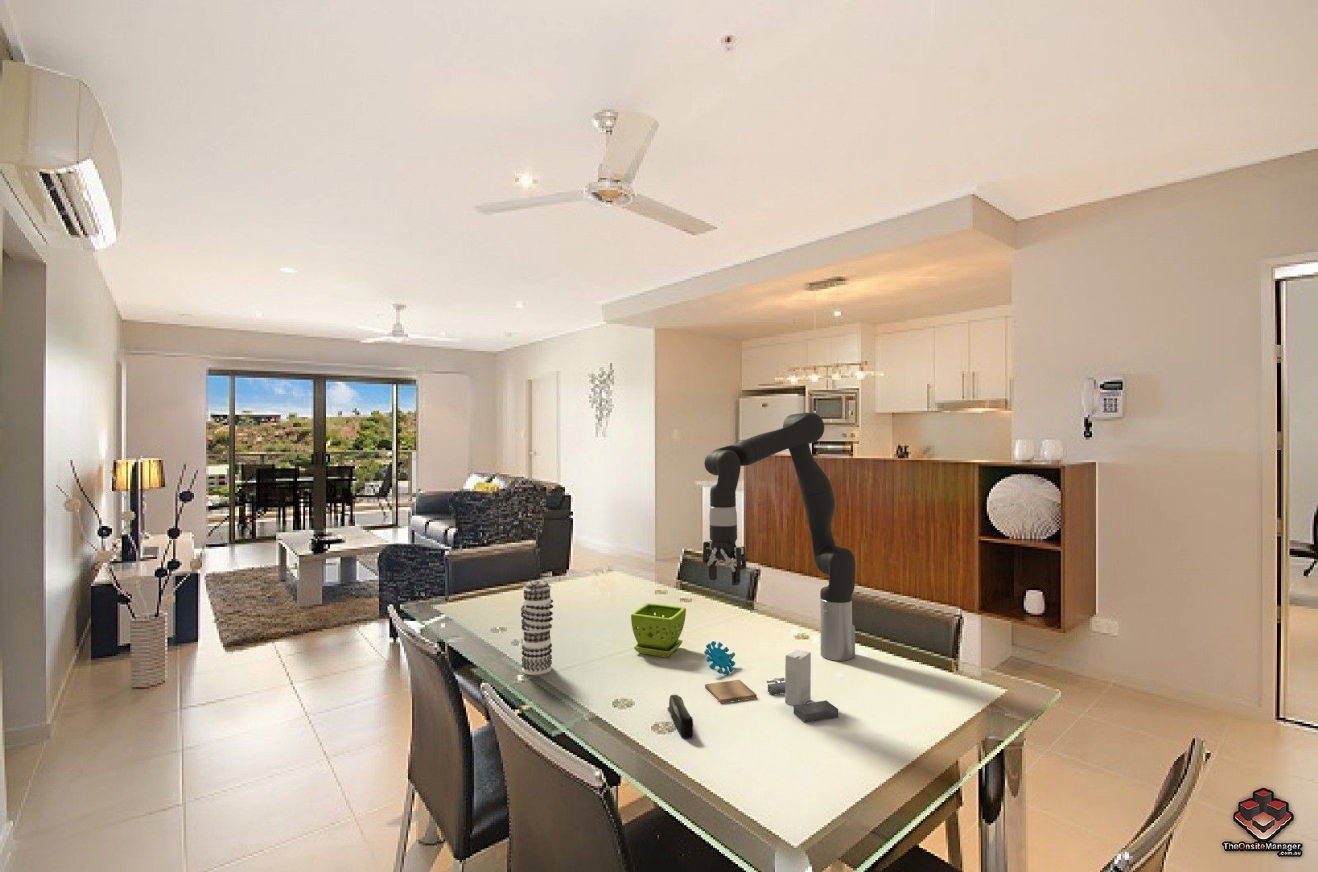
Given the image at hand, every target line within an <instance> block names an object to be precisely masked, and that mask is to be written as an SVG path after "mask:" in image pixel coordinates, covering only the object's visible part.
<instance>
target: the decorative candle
mask: <svg viewBox="0 0 1318 872" xmlns="http://www.w3.org/2000/svg"><path fill="white" fill-rule="evenodd" d="M551 588H552V586H551V585H549V583H548V582H547V580H542V579H541V580H540V579H535V580H531V581H530V580H529V581H528V582H526V583H525V585H524V586H523V587H522V590H523V598H522V606H521V607H520V617H521V618H522V619H521V627H520V628H521V631H522V632H523V638H522V645H521V649H522V650H521V655H522V657H521V672H522V673H523V674H525V675H528V676H529V675H530V676H537V675H543V674H547V673H549V672H550V671H552V665H553V663H552V662H553V661H552V659H553V657H552V652H553V650H552V647H553V644H552V637H551V629H552V628H553V625H552V624H553V623H550V622H551V621H553V620H554V619H553V617H552V616H553V614H554V613H553V611H551V609H553V608H554V605H553V604H552V603H554V600H553V599H551V598H552V597H551Z"/></svg>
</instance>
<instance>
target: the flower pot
mask: <svg viewBox="0 0 1318 872" xmlns="http://www.w3.org/2000/svg"><path fill="white" fill-rule="evenodd" d="M686 612H687V609H686V607H683V606H678V605H677V606H676V605H669V604H661V603H652V602H651V603H646V604H644V605H642V606H640V607H638V608H637V609H636V610H634V611H633V612H632V613H631V614H630V621H631V628H632V633H633V635H634V638H635V641H636V644H635V645H634V647H633V648H634V650H635V651H636V652H637V653H639V654H643V655H648V656H649V655H650V656H656V657H663V658H665V659H666V658H669V657H670V656H671V655H672V654H674V652H676V650H678V649H679V647H680V646H681V645H682V644H683V640H682V639H679V638H681V634H682V632H683V629H684V626H685V621H686V614H687V613H686Z"/></svg>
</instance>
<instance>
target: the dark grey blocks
mask: <svg viewBox="0 0 1318 872" xmlns="http://www.w3.org/2000/svg"><path fill="white" fill-rule="evenodd" d="M766 684H767V693H768V692H769V693H770V694H769V693H768V694H769V695H770V696H775V694H777V695H781V694H780V693H784V694H785V677H779V678H777V677H776V678H772V679H766ZM793 714H794V716H796V717H797V718H798V719H799V720H801V722H803V723H804V724H807V723H814V722H819V721H821V722H822V721H826V720H831V719H832V720H833V719H838V718H839V708H838V707H836V706H835V705H834V704H832V703H831V702H830V701H828V700H820V701H813V702H806V703H805V704H799V705H794V706H793Z"/></svg>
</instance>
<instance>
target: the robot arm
mask: <svg viewBox="0 0 1318 872" xmlns="http://www.w3.org/2000/svg"><path fill="white" fill-rule="evenodd" d="M824 433H825V422H824V420H823V418H822V417H821V416H820V414H817V413H814V412H801V413H799V412H798V413H793V414H789V415H787V416H786V417H785V419H784V421H783V424H782V428H779V429H775V430H771V431H767V432H764V433H761V434H760V433H759V434H757V435H754V436H751V437H749V438H746V439H744V440H742V441H739V442H738V443H734V444H731V445H726V446H724V447H719V448H716V449H713V450H712V451H709V452H708V454H707V455H706V456H705V459H704V468H705V470H706V472H707V473H709V474H710V475H712V476H718V477H717V482H716V484H714V485H712V486H711V488H710V490H709V503H710V504H709V505H710V507H709V508H710V509H709V516H708V517H709V540H708V541H704V542H703V543H702V545H703V546H702V562H703V564H706V565H707V566H708V577H709V580H710V581H715V580H717V578H718V572H717V571H718V570H717V569H718V567H717V564H718V563H719V561H723V562H726V564H727V565H729V567H730V569H731V586H739V585H740V583H741V571H742V570H746V569H747V555H746V547H745V546H737V545H736V542H737V540H738V513H737V507H736V506H737V504H736V503H737V498H736V496H737V494H736V493H737V492H736V491H737V487H738V484H739V478H740V474H741V467H746V466H750V465H753V464H756V463H757V462H761V461H762V460H765V459H767V458H769V457H771V456H773V455H776V454H778V453H781V452H782V451H785V450H788V452H789V454H790V457H791V460H792V462H793V466H794V470H795V473H796V478H797V482H798V485H799V491H800V494H801V498H802V499H801V500H802V502H803V503H802V504H803V507H804V510H805V513H806V519H807V521H808V522H807V523H808V526H809V528H808V529H809V532H810V536H811V543H812V545H811V546H812V552H813V557H814V562H815V566H816V567H817V569H818V570H819V572H821V573H822V574H824V575H827V576H829V578H828V585H827V586H824V587H822V588H821V589H820V591H819V592H820V593H819V594H820V596H819V597H820V598H819V600H820V601H819V602H820V656H821V657H822V658H825V659H827V660H832V661H841V662H842V661H843V662H844V661H849V660H851V659H852V658H856V627H855V625H854V624H853V594H854V591H855V587H856V585H855V584H856V560H855V556H854V554H853V552H852V551H851V550H850V549H848V548H845V547H843V546H838V545H836V543H835V540H834V536H833V532H832V531H833V530H832V523H833V522H832V521H833V518H834V513H835V506H836V501H835V495H834V493H833V491H834V490H833V488H832V483H831V482H830V479H829V478H828V476H827V475H826V473H825V472H824V471H823V469H822V468H821V466H820V465H819V464H818V462H817V461H816V460H815V458H814V456H813V453H812V451H811V447H810V444H813V443H816V442H818V441H819V440H820V439H821V438H823V435H824Z"/></svg>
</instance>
